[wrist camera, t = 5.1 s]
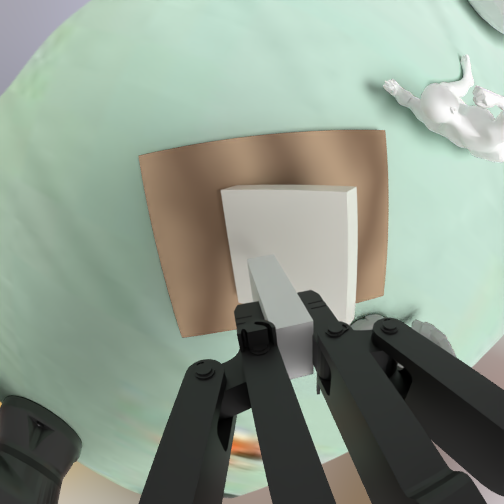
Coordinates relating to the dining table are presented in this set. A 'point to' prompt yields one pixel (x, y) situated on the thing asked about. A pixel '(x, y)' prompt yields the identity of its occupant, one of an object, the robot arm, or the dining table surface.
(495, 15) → the vase
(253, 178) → the board
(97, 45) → the dining table surface
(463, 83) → the person figurine
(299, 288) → the tile
